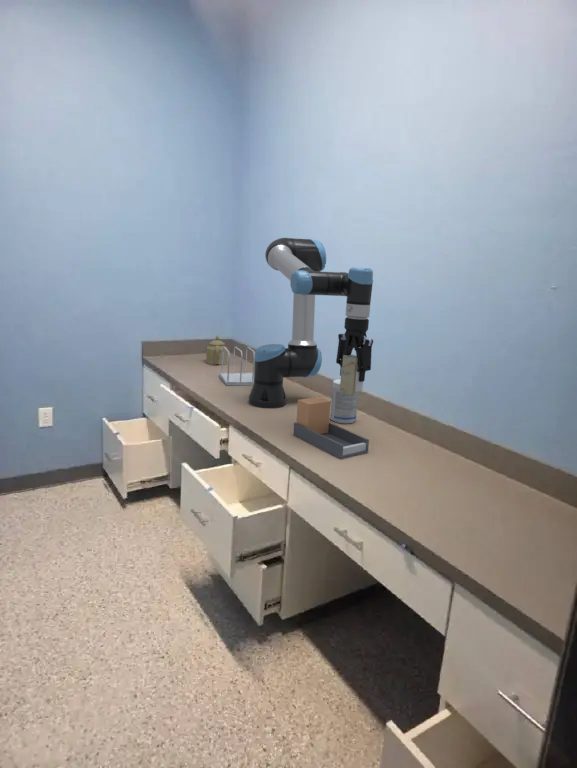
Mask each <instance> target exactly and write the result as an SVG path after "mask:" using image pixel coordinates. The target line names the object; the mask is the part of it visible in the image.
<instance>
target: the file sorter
mask: <svg viewBox="0 0 577 768" xmlns="http://www.w3.org/2000/svg"><path fill="white" fill-rule="evenodd" d="M225 347H226V346H225ZM225 347H223V351H222V365H221V369H220V371H221V372H219V378H220V379H221V381H222V382H223V384H224V383H225V384H224V385H225V386H253V384H254V367H255V360H254V358H255V352H256V351H255V350H254V349H252V348H251V347H249V346H247V347H246V350H245V365H244V372H242V371H243V356H244V355H243V350H241V349H240V348H238V346H234V347H233V362H232V363H233V367H232V370H233V371H232V372H230V360H231V357H230V355H231V354H230V350H228V348H227V349H226V348H225ZM224 349H225V350H226V351H227V372H223V371H224V365H223V356H224ZM248 349H249V350H250V351H251V352H252V353H253V357H252V358H253V359H252V360H253V361H252V372H247V364H248V361H247V360H248ZM236 350H238V351H239V352H240V372H235V361H236V360H235V359H236Z"/></svg>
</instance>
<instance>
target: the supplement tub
mask: <svg viewBox="0 0 577 768" xmlns="http://www.w3.org/2000/svg"><path fill="white" fill-rule="evenodd" d="M340 381H341V378H339V379H334V380H333V381H332V387H331V390H332V391H331V400H330V401H331V406H330V420H331V421H333V422H335V423H339V424H353V423H354V422H356V421H357V412H358V398H359V395H349V394H346V393H344V392H341V391H340Z"/></svg>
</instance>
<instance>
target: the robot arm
mask: <svg viewBox="0 0 577 768" xmlns="http://www.w3.org/2000/svg"><path fill="white" fill-rule="evenodd" d="M265 260H266V262H267V265H268V266H269V267H270V268H271V269H273V270H274V271H277V272H278V271H279V272H280V273H281V274H282V275H283V276H284V277H285V278H286V279H288V280H289V281H290V282H289V283H290V284H289V285H290V289H291V291H292V293H293V302H292V304H293V305H292V330H291V331H292V332H291V340H290V341H289V342H288V343H287V347H286V345H284V344H279V343H276V344H275V343H270V344H264V345H261V346H258V347H257V348H256V350H255V351H254V352H255V358H254V360H255V364H254V384H253V385H252V388H251V390H250V393H249V396H248V404H250V405H252V406H254V407H258V408H265V409H273V408H274V409H275V408H281V407H285V406H286V404H287V396H286V392H285V389H284V378H307V377H310V378H311V377H314V376H317V374H318V373H319V371H320V370H321V367H322V362H323V355H322V351H321V349H320V348H319V347H318V344H317V342H316V341H315V340H314V337H315V335H314V331H315V311H316V310H315V307H316V296H332V297H333V296H335V297H336V296H337V297H346V305H345V316H346V317H345V318H344V329H345V332H344V333H339V334H338V335H337V336H338V338H337V339H338V345H337V351H336V353H337V354H336V361H335V362H336V364H338V365H339V366H340V372H339V376H340V377H341V373H342V363H343V355H352V352H353V351H355V356H357V359H358V361H357V363H358V370H357V371H356V381H355V391H356V392H358V391H361V392H362V391H363V387H364V382H365V380H366V379H365V377H366V372H368V371H371V370H372V352H373V351H372V347H373V344H374V339H372V338H371V339H369V337H367V332H368V330H369V321H370V320H369V319H368V318H370V312H371V301H372V294H373V293H372V291H373V282H374V280H373V278H374V270H373V269H372V268H371V267H370V268H366V267H355V266H354V267H350V268H349V269H348V272H345V271H339V272H337V271H335V272H334V271H324V269H325V268H326V264H327V253H326V248H325V246H324V245H323V243H322V242H321V241H320V240H318V239H312V238H311V239H309V238H292V237H280V238H278V239H275V240H273V241H272V242H270V243H269V244H268V245H267V247H266V250H265ZM353 349H354V350H353ZM362 367H363V368H362ZM340 383H341V381H340Z"/></svg>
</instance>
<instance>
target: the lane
mask: <svg viewBox="0 0 577 768" xmlns="http://www.w3.org/2000/svg"><path fill="white" fill-rule="evenodd" d="M292 434H293V436H294V437H296V438H298V439H300V440H303V441H304V442H307V443H309V444H310V445H312V446H315V447H316V448H319V449H320V450H322V451H325V452H326V453H328V454H330V455H332V456H334V457H336V458H338V459H340V460H343V459H348V458H351V457H355V456H356V457H357V456H359V455H365V454H368V453H369V444H370V439H368V438H366V437H365V436H364V437H363V436H362V435H359V434H357V433H355V432H352V431H350V430H348V429H345V428H343V427H342V426H339V425H336V424H335V423H332V422H330V421H329V431H328V433H324V434H319V433H317V432H315V431H312V430H310V429H308V428H306V427H304V426H302V425H300V424H298V423H296V422H293V433H292Z"/></svg>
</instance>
